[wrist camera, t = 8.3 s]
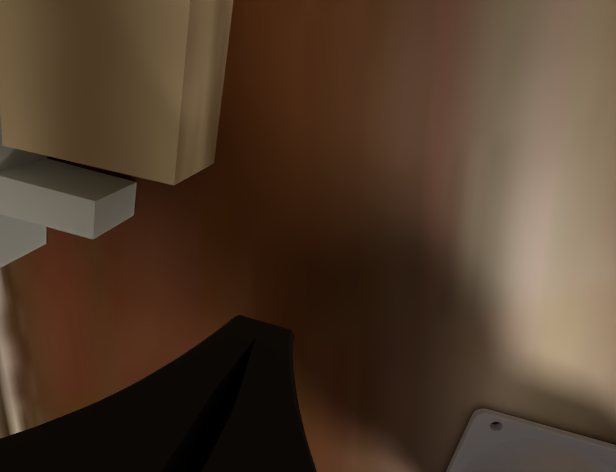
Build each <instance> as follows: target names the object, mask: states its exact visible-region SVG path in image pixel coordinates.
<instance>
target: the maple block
mask: <svg viewBox="0 0 616 472" xmlns="http://www.w3.org/2000/svg"><path fill="white" fill-rule="evenodd" d="M232 8H233V0H0V112H1V130H2V146H7V147H11V148H15V149H20V150H24V151H28V152H32V153H37V154H41V155H45V156H50V157H54V158H58V159H62V160H67V161H71V162H75V163H80V164H84V165H88V166H93V167H97V168H101V169H105V170H110V171H114V172H118V173H123V174H127V175H131V176H135V177H140V178H144V179H148V180H153V181H157V182H161V183H165V184H170V185H176V184H178V183H180V182H181V181H183V180H185V179H187V178H188V177H190V176H192V175H194V174H196V173H197V172H199V171H201V170H203V169H205V168H206V167H208V166H210V165H212V164H213V163H214V159H215V151H216V142H217V134H218V126H219V117H220V109H221V100H222V92H223V83H224V75H225V67H226V58H227V50H228V41H229V33H230V25H231V16H232Z"/></svg>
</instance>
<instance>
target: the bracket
mask: <svg viewBox="0 0 616 472" xmlns="http://www.w3.org/2000/svg"><path fill="white" fill-rule="evenodd" d="M136 186H137V182H134V181H130V180H126V179H123V178H119V177H115V176H111V175H108V174H104V173H100V172H96V171H92V170H89V169H85V168H81V167H77V166H73V165H70V164H66V163H62V162H58V161H55V160H51V159H47V156H45V155H41V154H37V153H32V152H28V151H24V150H20V149H15V148H11V147H7V146H2V130H1V112H0V268H1V267H3V266H5V265H7V264H8V263H10V262H12V261H14V260H16V259H18V258H20V257H22V256H24V255H26V254H28V253H30V252H31V251H33V250H35V249H37V248H39V247H41V246H43V245H45V244H46V227H49V228H53V229H57V230H60V231H64V232H68V233H71V234H75V235H79V236H82V237H86V238H90V239H95V238H97V237H98V236H100V235H102V234H103V233H105V232H107V231H108V230H110V229H112V228H113V227H115V226H117V225H118V224H120V223H122V222H124V221H125V220H127V219H129V218H130V217H132V216H134V208H135V197H136Z"/></svg>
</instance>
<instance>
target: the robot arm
mask: <svg viewBox="0 0 616 472" xmlns="http://www.w3.org/2000/svg"><path fill="white" fill-rule="evenodd" d="M293 340H294V334H293V333H292V331H291V330H289V329H285V328H282V327H279V326H275V325H272V324H268V323H265V322H261V321H258V320H255V319H251V318H248V317H244V316H241V315H238V316H236V317H234V318H233V319H231V320H230V321H229V322H228V323H226V324H225V325H224V326H223V327H221V328H220V329H219V330H217V331H216V332H215V333H213V334H212V335H211V336H209V337H208V338H206V339H205V340H204V341H202V342H201V343H199V344H198V345H196V346H195V347H193V348H192V349H191V350H189V351H188V352H186V353H185V354H183V355H182V356H180V357H179V358H177V359H176V360H174V361H172V362H171V363H169V364H167V365H166V366H164V367H162V368H161V369H159V370H157V371H155V372H154V373H152V374H150V375H149V376H147V377H145V378H144V379H142V380H140V381H138V382H136V383H134V384H132V385H131V386H129V387H127V388H125V389H123V390H121V391H119V392H117V393H115V394H113V395H111V396H109V397H107V398H104V399H102V400H100V401H98V402H96V403H94V404H91V405H89V406H87V407H84V408H82V409H80V410H77V411H75V412H72V413H70V414H67V415H64V416H62V417H59V418H57V419H54V420H52V421H49V422H47V423H44V424H42V425H39V426H36V427H34V428H31V429H28V430H25V431H22V432H19V433H16V434H13V435H10V436H7V437H4V438H1V439H0V472H317V471H316V468H315V465H314V462H313V459H312V456H311V453H310V449H309V446H308V443H307V439H306V435H305V431H304V427H303V423H302V419H301V414H300V410H299V405H298V399H297V393H296V386H295V380H294V371H293ZM493 422H499V423H498V424H496V425H492V424H491V423H493ZM446 472H616V445H614V444H610V443H607V442H603V441H600V440H596V439H593V438H589V437H585V436H582V435H578V434H575V433H571V432H568V431H564V430H560V429H557V428H553V427H550V426H546V425H543V424H539V423H536V422H532V421H528V420H525V419H521V418H518V417H514V416H511V415H507V414H503V413H500V412H496V411H493V410H489V409H478V410H476V411H475V412H474V413H473V414H472V416H471V418H470V420H469V422H468V425H467V427H466V429H465V431H464V433H463V435H462V438H461V440H460V442H459V444H458V446H457V448H456V451H455V453H454V455H453V457H452V459H451V461H450V464H449V466H448V468H447V470H446Z"/></svg>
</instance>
